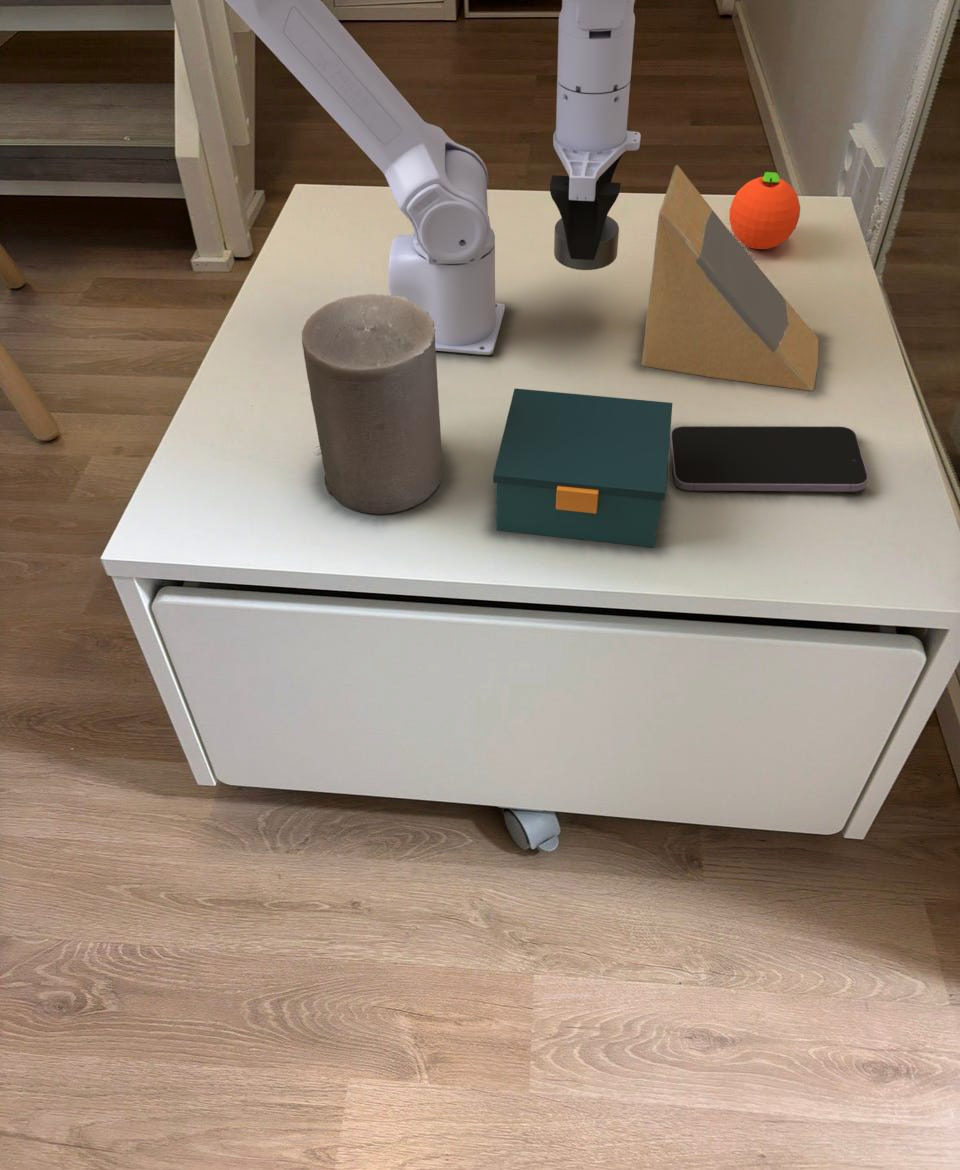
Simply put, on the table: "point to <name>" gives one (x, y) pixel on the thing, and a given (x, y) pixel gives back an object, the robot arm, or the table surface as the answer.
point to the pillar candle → (375, 401)
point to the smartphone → (767, 458)
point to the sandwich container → (719, 303)
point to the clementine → (764, 212)
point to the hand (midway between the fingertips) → (585, 239)
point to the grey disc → (604, 252)
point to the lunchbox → (583, 467)
